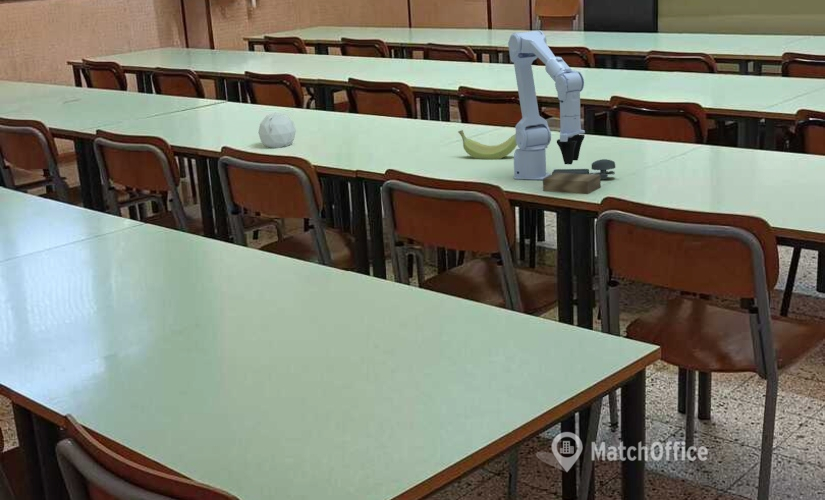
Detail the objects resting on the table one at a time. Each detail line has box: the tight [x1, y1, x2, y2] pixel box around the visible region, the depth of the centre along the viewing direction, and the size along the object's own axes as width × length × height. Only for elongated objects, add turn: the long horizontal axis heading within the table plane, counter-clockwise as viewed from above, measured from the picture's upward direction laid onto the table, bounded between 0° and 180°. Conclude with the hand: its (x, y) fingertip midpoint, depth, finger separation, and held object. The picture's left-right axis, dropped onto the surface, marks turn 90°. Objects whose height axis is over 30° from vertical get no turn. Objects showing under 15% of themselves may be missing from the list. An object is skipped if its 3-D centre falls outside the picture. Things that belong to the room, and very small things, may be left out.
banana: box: [457, 129, 518, 160], centre depth 357 cm, size 14×6×20 cm
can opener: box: [551, 158, 616, 180], centre depth 320 cm, size 19×5×6 cm, turn 76°
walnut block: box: [542, 173, 602, 195], centre depth 308 cm, size 14×9×4 cm, turn 57°
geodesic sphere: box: [258, 112, 297, 149], centre depth 402 cm, size 15×14×14 cm
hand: (571, 162), depth 307 cm, fingers open, 5 cm apart
